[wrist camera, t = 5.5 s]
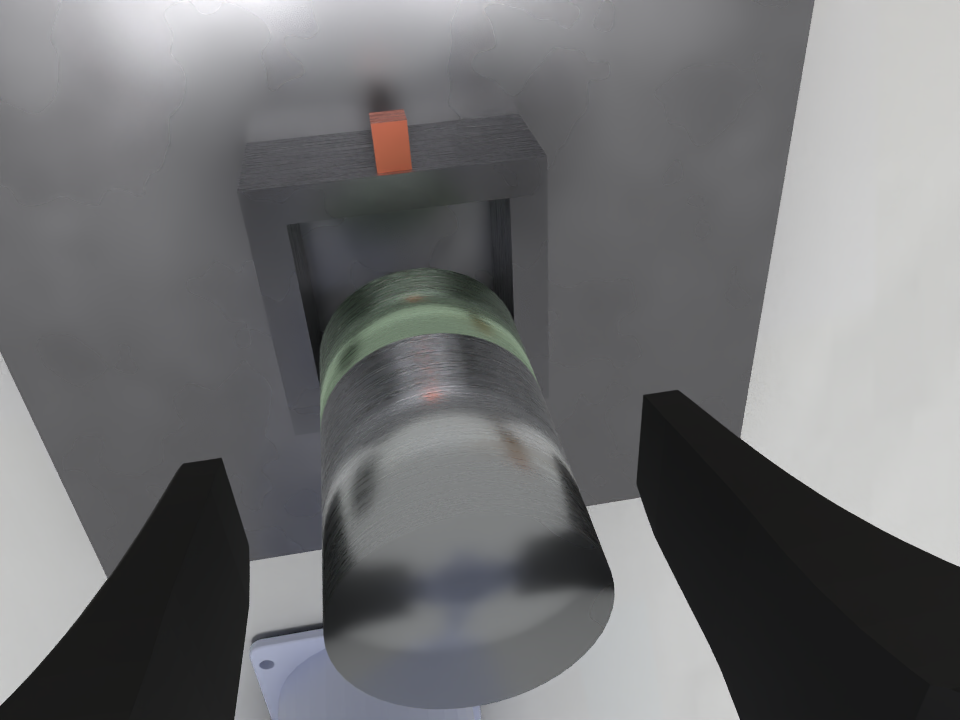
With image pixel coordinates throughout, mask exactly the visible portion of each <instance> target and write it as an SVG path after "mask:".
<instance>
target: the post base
mask: <svg viewBox="0 0 960 720" xmlns="http://www.w3.org/2000/svg"><path fill="white" fill-rule="evenodd" d="M813 6H814V0H0V352H1V354H2V356H3V358H4V360H5V363H6V365H7V367H8V369H9V371H10V373H11V375H12V377H13V379H14V382H15V384H16V386H17V388H18V390H19V392H20V394H21V396H22V398H23V401H24V403H25V405H26V407H27V409H28V411H29V413H30V415H31V417H32V420H33V422H34V424H35V426H36V428H37V430H38V432H39V434H40V436H41V439H42V441H43V443H44V445H45V447H46V449H47V451H48V453H49V455H50V458H51V460H52V462H53V464H54V466H55V468H56V470H57V472H58V474H59V477H60V479H61V481H62V483H63V485H64V487H65V489H66V491H67V493H68V496H69V498H70V500H71V502H72V504H73V506H74V508H75V510H76V512H77V515H78V517H79V519H80V521H81V523H82V525H83V527H84V529H85V531H86V534H87V536H88V538H89V540H90V542H91V544H92V546H93V548H94V550H95V553H96V555H97V557H98V559H99V561H100V563H101V565H102V567H103V569H104V572H105V574H106V576H107V578H109V576H110V575H111V574H112V572H113V571H114V569H115V568H116V566H117V565H118V564H119V562H120V561H121V559H122V558H123V556H124V555H125V553H126V552H127V550H128V549H129V547H130V546H131V544H132V543H133V541H134V540H135V538H136V537H137V535H138V534H139V532H140V530H141V529H142V527H143V526H144V524H145V523H146V521H147V519H148V518H149V516H150V515H151V513H152V511H153V510H154V508H155V506H156V505H157V503H158V502H159V500H160V498H161V497H162V495H163V493H164V492H165V490H166V488H167V487H168V485H169V483H170V482H171V480H172V478H173V477H174V475H175V473H176V472H177V470H178V469H179V468H180V466H181V465H182V464H183V463H189V462H196V461H203V460H209V459H216V458H222V460H223V463H224V466H225V470H226V473H227V476H228V479H229V482H230V486H231V489H232V492H233V495H234V498H235V502H236V505H237V508H238V511H239V514H240V518H241V521H242V524H243V527H244V530H245V534H246V537H247V540H248V543H249V560H250V561H253V560H259V559H265V558H271V557H278V556H284V555H290V554H296V553H302V552H308V551H314V550H321V549H322V505H321V431H320V346H321V341H322V337H323V334H324V331H325V329H326V326H327V324H328V322H329V321H330V319H331V317H332V315H333V314H334V313H335V311H336V310H337V309H338V307H339V306H340V305H341V304H342V303H343V302H344V301H345V300H346V299H347V298H348V297H349V296H350V295H351V294H353V293H354V292H355V291H356V290H358V289H359V288H361V287H362V286H364V285H366V284H367V283H369V282H371V281H373V280H375V279H377V278H379V277H382V276H384V275H387V274H390V273H394V272H397V271H402V270H408V269H417V268H436V269H444V270H450V271H454V272H457V273H460V274H464V275H466V276H468V277H471V278H473V279H475V280H477V281H479V282H480V283H482V284H484V285H485V286H487V287H488V288H489V289H490V290H492V291H493V292H494V293H495V294H496V295H497V296H498V297H499V298H500V299H501V300H502V301H503V303H504V304H505V306H506V307H507V309H508V310H509V312H510V314H511V316H512V318H513V320H514V323H515V325H516V328H517V331H518V333H519V336H520V338H521V341H522V343H523V346H524V349H525V351H526V354H527V356H528V359H529V361H530V364H531V367H532V369H533V372H534V374H535V377H536V380H537V382H538V385H539V387H540V390H541V392H542V395H543V398H544V400H545V403H546V405H547V408H548V411H549V413H550V416H551V418H552V421H553V423H554V426H555V429H556V431H557V434H558V436H559V439H560V441H561V444H562V447H563V449H564V452H565V454H566V457H567V460H568V462H569V465H570V467H571V470H572V472H573V475H574V478H575V480H576V483H577V485H578V488H579V491H580V493H581V496H582V498H583V501H584V503H585V506H590V505H597V504H603V503H609V502H615V501H621V500H627V499H633V498H639V497H640V494H639V491H638V488H637V485H636V480H637V468H638V455H639V442H640V429H641V416H642V403H643V395H645V394H652V393H659V392H665V391H672V390H679V391H680V392H682V393H683V394H684V395H686V396H687V397H688V398H689V399H691V400H692V401H693V402H694V403H696V404H697V405H698V406H700V407H701V408H702V409H703V410H705V411H706V412H707V413H708V414H710V415H711V416H712V417H713V418H715V419H716V420H717V421H718V422H720V423H721V424H722V425H723V426H725V427H726V428H727V429H729V430H730V431H731V432H732V433H734V434H735V435H736V436H738V437H739V438H740V435H741V429H742V423H743V417H744V412H745V406H746V400H747V394H748V388H749V382H750V376H751V370H752V365H753V359H754V353H755V347H756V341H757V335H758V329H759V323H760V318H761V312H762V306H763V300H764V294H765V288H766V282H767V276H768V271H769V265H770V259H771V253H772V247H773V241H774V235H775V229H776V224H777V218H778V212H779V206H780V200H781V194H782V188H783V182H784V177H785V171H786V165H787V159H788V153H789V147H790V141H791V135H792V130H793V124H794V118H795V112H796V106H797V100H798V94H799V88H800V83H801V77H802V71H803V65H804V59H805V53H806V47H807V41H808V36H809V30H810V24H811V18H812V12H813Z"/></svg>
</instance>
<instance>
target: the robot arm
mask: <svg viewBox="0 0 960 720" xmlns="http://www.w3.org/2000/svg"><path fill="white" fill-rule="evenodd" d="M636 485H637V488H638V491H639V494H640V497H641V499H642V502H643V505H644V508H645V511H646V514H647V517H648V520H649V522H650V525H651V528H652V531H653V533H654V536H655V538H656V540H657V542H658V544H659V546H660V548H661V550H662V552H663V554H664V556H665V558H666V560H667V562H668V564H669V566H670V568H671V570H672V572H673V574H674V576H675V578H676V580H677V582H678V584H679V586H680V588H681V590H682V592H683V594H684V596H685V598H686V600H687V602H688V604H689V606H690V608H691V610H692V612H693V614H694V616H695V618H696V620H697V621H698V623H699V625H700V627H701V629H702V631H703V633H704V635H705V637H706V639H707V641H708V643H709V645H710V647H711V649H712V652H713V654H714V656H715V658H716V660H717V663H718V665H719V667H720V669H721V671H722V674H723V677H724V679H725V682H726V684H727V687H728V690H729V692H730V695H731V697H732V700H733V703H734V705H735V708H736V710H737V713H738V716H739V718H740V720H960V567H959V566H956V565H954V564H952V563H949V562H947V561H945V560H942V559H940V558H938V557H936V556H934V555H932V554H930V553H928V552H925V551H923V550H921V549H919V548H917V547H915V546H913V545H911V544H908V543H906V542H904V541H902V540H900V539H898V538H896V537H894V536H892V535H890V534H888V533H887V532H885V531H883V530H881V529H879V528H877V527H875V526H873V525H872V524H870V523H868V522H866V521H865V520H863V519H861V518H859V517H857V516H856V515H854V514H852V513H850V512H848V511H847V510H845V509H843V508H841V507H840V506H838V505H836V504H835V503H833V502H831V501H830V500H828V499H827V498H825V497H823V496H822V495H820V494H819V493H817V492H816V491H814V490H813V489H811V488H809V487H808V486H806V485H805V484H803V483H802V482H800V481H799V480H797V479H796V478H794V477H793V476H791V475H790V474H788V473H787V472H785V471H784V470H783V469H781V468H780V467H778V466H777V465H775V464H774V463H773V462H771V461H770V460H768V459H767V458H766V457H764V456H763V455H762V454H760V453H759V452H758V451H756V450H755V449H753V448H752V447H751V446H749V445H748V444H747V443H745V442H744V441H743V440H742V439H740V438H739V437H738V436H736V435H735V434H734V433H732V432H731V431H730V430H729V429H727V428H726V427H725V426H723V425H722V424H721V423H720V422H718V421H717V420H716V419H715V418H713V417H712V416H711V415H710V414H708V413H707V412H706V411H705V410H703V409H702V408H701V407H700V406H698V405H697V404H696V403H694V402H693V401H692V400H691V399H689V398H688V397H687V396H686V395H684V394H683V393H682V392H680V391H679V390H672V391H665V392H659V393H652V394H645V395H643V403H642V416H641V429H640V442H639V455H638V468H637V480H636ZM249 583H250V560H249V543H248V540H247V537H246V534H245V530H244V527H243V524H242V521H241V518H240V514H239V511H238V508H237V505H236V502H235V498H234V495H233V492H232V489H231V486H230V482H229V479H228V476H227V473H226V470H225V466H224V463H223V460H222V458H216V459H209V460H203V461H196V462H189V463H183V464H182V465H181V466H180V468H179V469H178V470H177V472H176V473H175V475H174V477H173V478H172V480H171V482H170V483H169V485H168V487H167V488H166V490H165V492H164V493H163V495H162V497H161V498H160V500H159V502H158V503H157V505H156V506H155V508H154V510H153V511H152V513H151V515H150V516H149V518H148V519H147V521H146V523H145V524H144V526H143V527H142V529H141V530H140V532H139V534H138V535H137V537H136V538H135V540H134V541H133V543H132V544H131V546H130V547H129V549H128V550H127V552H126V553H125V555H124V556H123V558H122V559H121V561H120V562H119V564H118V565H117V566H116V568H115V569H114V571H113V572H112V574H111V575H110V576H109V578H108V579H107V580H106V582H105V583H104V585H103V586H102V587H101V589H100V590H99V591H98V593H97V594H96V595H95V597H94V598H93V599H92V601H91V602H90V603H89V605H88V606H87V607H86V609H85V610H84V611H83V613H82V614H81V615H80V617H79V618H78V619H77V621H76V622H75V623H74V624H73V625H72V627H71V628H70V629H69V630H68V632H67V633H66V634H65V635H64V637H63V638H62V639H61V640H60V641H59V643H58V644H57V645H56V646H55V647H54V649H53V650H52V651H51V652H50V653H49V654H48V655H47V657H46V658H45V659H44V660H43V661H42V662H41V663H40V665H39V666H38V667H37V668H36V669H35V670H34V671H33V672H32V674H31V675H30V676H29V677H28V678H27V679H26V680H25V681H24V682H23V683H22V684H21V685H20V686H19V687H18V688H17V689H16V691H15V692H14V693H13V694H12V695H11V696H10V697H9V698H8V699H7V700H6V701H5V702H4V703H3V704H2V705H1V706H0V720H234V717H235V709H236V702H237V694H238V687H239V679H240V672H241V664H242V657H243V650H244V642H245V634H246V626H247V618H248V610H249ZM250 660H251V662H252V665H253V668H254V671H255V674H256V677H257V679H258V682H259V685H260V688H261V691H262V694H263V696H264V699H265V702H266V705H267V708H268V711H269V713H270V716H271V719H272V720H481V711H480V706H474V707H467V708H458V709H422V708H412V707H406V706H401V705H396V704H393V703H389V702H386V701H382V700H380V699H377V698H375V697H373V696H370V695H368V694H366V693H364V692H363V691H361V690H359V689H358V688H356V687H354V686H353V685H352V684H351V683H349V682H348V681H347V680H346V679H344V677H343V676H342V675H341V674H340V673H339V672H338V671H337V670H336V668H335V667H334V665H333V664H332V662H331V660H330V659H329V656H328V653H327V651H326V648H325V643H324V636H323V629H317V630H311V631H305V632H300V633H294V634H288V635H282V636H276V637H271V638H265V639H260V640H257V641H256V642H254V643H253V644H252V645H251V647H250Z"/></svg>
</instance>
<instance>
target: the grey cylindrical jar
mask: <svg viewBox="0 0 960 720" xmlns="http://www.w3.org/2000/svg"><path fill="white" fill-rule="evenodd" d="M320 431H321V505H322V580H323V636H324V643H325V648H326V651H327V653H328V656H329V659H330V660H331V662H332V664H333V665H334V667H335V668H336V670H337V671H338V672H339V673H340V674H341V675H342V676H343V677H344V679H346V680H347V681H348V682H349V683H351V684H352V685H353V686H354V687H356V688H358V689H359V690H361V691H363V692H364V693H366V694H368V695H370V696H373V697H375V698H377V699H380V700H382V701H386V702H389V703H393V704H396V705H401V706H406V707H412V708H422V709H458V708H467V707H474V706H481V705H485V704H489V703H494V702H498V701H501V700H505V699H508V698H511V697H514V696H517V695H519V694H522V693H524V692H527V691H530V690H532V689H534V688H536V687H538V686H540V685H542V684H544V683H546V682H548V681H549V680H551V679H553V678H554V677H556V676H558V675H559V674H561V673H562V672H563V671H565V670H566V669H568V668H569V667H570V666H572V665H573V664H574V663H575V662H576V661H578V660H579V659H580V658H581V657H582V656H583V655H584V654H585V653H586V652H587V651H588V650H589V649H590V648H591V647H592V646H593V644H594V643H595V642H596V640H597V639H598V638H599V636H600V635H601V633H602V632H603V630H604V628H605V626H606V624H607V622H608V620H609V617H610V614H611V611H612V608H613V602H614V582H613V578H612V574H611V571H610V568H609V565H608V563H607V560H606V558H605V555H604V552H603V550H602V547H601V545H600V542H599V540H598V537H597V534H596V532H595V529H594V527H593V524H592V521H591V519H590V516H589V514H588V511H587V509H586V506H585V503H584V501H583V498H582V496H581V493H580V491H579V488H578V485H577V483H576V480H575V478H574V475H573V472H572V470H571V467H570V465H569V462H568V460H567V457H566V454H565V452H564V449H563V447H562V444H561V441H560V439H559V436H558V434H557V431H556V429H555V426H554V423H553V421H552V418H551V416H550V413H549V411H548V408H547V405H546V403H545V400H544V398H543V395H542V392H541V390H540V387H539V385H538V382H537V380H536V377H535V374H534V372H533V369H532V367H531V364H530V361H529V359H528V356H527V354H526V351H525V349H524V346H523V343H522V341H521V338H520V336H519V333H518V331H517V328H516V325H515V323H514V320H513V318H512V316H511V314H510V312H509V310H508V309H507V307H506V306H505V304H504V303H503V301H502V300H501V299H500V298H499V297H498V296H497V295H496V294H495V293H494V292H493V291H492V290H490V289H489V288H488V287H487V286H485V285H484V284H482V283H480V282H479V281H477V280H475V279H473V278H471V277H468V276H466V275H464V274H460V273H457V272H454V271H450V270H444V269H436V268H417V269H408V270H402V271H397V272H394V273H390V274H387V275H384V276H382V277H379V278H377V279H375V280H373V281H371V282H369V283H367V284H366V285H364V286H362V287H361V288H359V289H358V290H356V291H355V292H354V293H353V294H351V295H350V296H349V297H348V298H347V299H346V300H345V301H344V302H343V303H342V304H341V305H340V306H339V307H338V309H337V310H336V311H335V313H334V314H333V315H332V317H331V319H330V321H329V322H328V324H327V326H326V329H325V331H324V334H323V337H322V341H321V346H320Z"/></svg>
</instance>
